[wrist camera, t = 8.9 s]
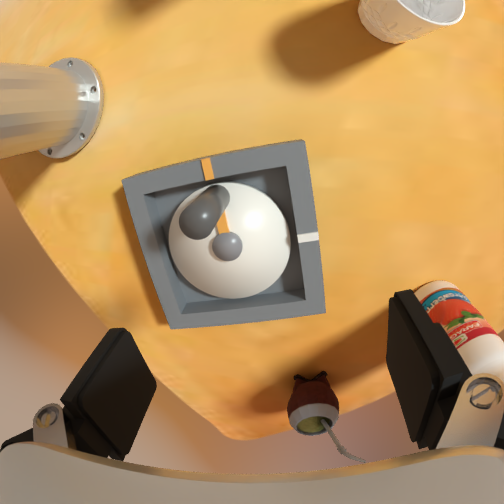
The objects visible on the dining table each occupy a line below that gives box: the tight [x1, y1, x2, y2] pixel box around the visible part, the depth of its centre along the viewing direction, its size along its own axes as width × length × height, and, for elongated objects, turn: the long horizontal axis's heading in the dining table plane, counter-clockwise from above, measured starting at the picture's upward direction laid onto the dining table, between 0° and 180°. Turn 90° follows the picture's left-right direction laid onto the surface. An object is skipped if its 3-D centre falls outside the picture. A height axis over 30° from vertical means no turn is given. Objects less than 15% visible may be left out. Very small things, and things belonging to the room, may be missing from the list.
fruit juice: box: [414, 280, 504, 383], centre depth 22 cm, size 9×9×28 cm
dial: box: [169, 181, 291, 299], centre depth 28 cm, size 13×13×9 cm
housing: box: [122, 139, 326, 329], centre depth 31 cm, size 18×18×4 cm
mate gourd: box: [287, 371, 365, 463], centre depth 34 cm, size 8×8×15 cm
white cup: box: [357, 0, 465, 44], centre depth 17 cm, size 8×8×10 cm
